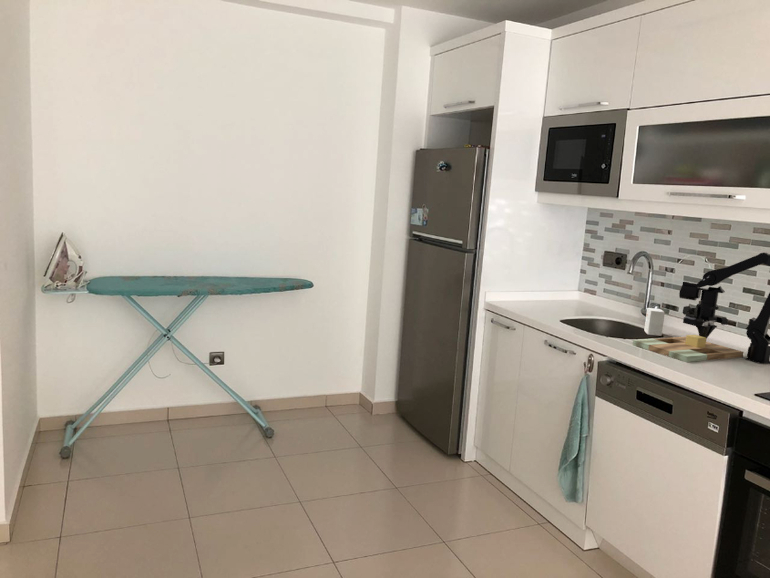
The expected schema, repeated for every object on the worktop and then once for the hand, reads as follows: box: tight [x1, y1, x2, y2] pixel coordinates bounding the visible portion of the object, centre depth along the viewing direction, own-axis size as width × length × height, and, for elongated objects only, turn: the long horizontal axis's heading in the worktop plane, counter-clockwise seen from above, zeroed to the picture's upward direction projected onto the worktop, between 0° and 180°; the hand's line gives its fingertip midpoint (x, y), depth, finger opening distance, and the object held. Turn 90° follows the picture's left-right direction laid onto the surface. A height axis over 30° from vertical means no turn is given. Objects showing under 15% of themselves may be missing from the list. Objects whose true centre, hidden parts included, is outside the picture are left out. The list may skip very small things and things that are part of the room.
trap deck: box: [632, 336, 744, 363], centre depth 241 cm, size 24×32×2 cm
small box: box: [644, 307, 665, 337], centre depth 268 cm, size 8×6×10 cm
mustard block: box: [685, 334, 707, 347], centre depth 242 cm, size 5×5×4 cm
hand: (702, 341), depth 244 cm, fingers closed
